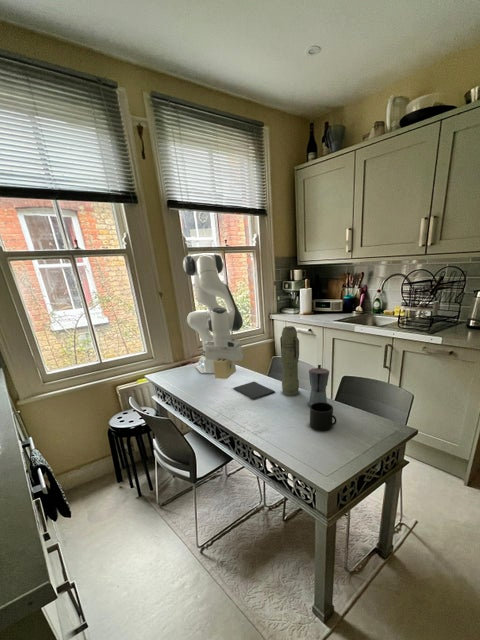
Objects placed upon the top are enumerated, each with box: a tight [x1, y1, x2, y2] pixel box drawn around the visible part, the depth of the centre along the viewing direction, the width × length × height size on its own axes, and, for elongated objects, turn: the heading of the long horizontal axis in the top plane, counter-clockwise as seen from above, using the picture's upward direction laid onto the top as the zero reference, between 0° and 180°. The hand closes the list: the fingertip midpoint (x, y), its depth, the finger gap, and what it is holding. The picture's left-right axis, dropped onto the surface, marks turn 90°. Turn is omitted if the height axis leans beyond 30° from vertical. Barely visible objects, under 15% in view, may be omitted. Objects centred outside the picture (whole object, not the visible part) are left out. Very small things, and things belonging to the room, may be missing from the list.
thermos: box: [279, 325, 300, 397], centre depth 162 cm, size 9×12×35 cm
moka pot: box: [308, 364, 330, 406], centre depth 150 cm, size 10×15×20 cm, turn 174°
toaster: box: [213, 359, 237, 380], centre depth 164 cm, size 13×6×9 cm, turn 163°
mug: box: [309, 402, 338, 432], centre depth 132 cm, size 9×12×9 cm
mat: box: [233, 381, 276, 401], centre depth 174 cm, size 20×14×1 cm
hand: (225, 368), depth 164 cm, fingers closed on toaster, 6 cm apart
